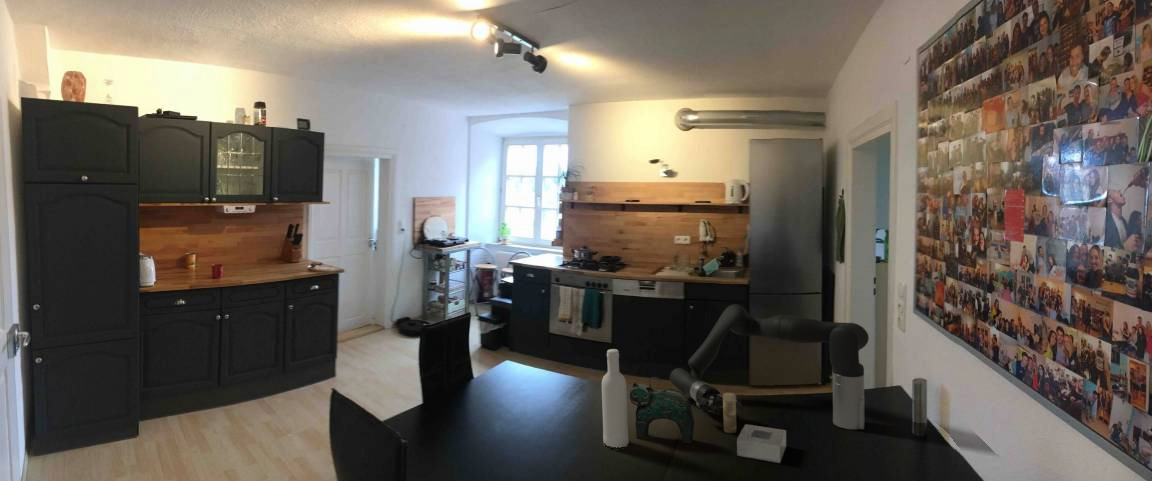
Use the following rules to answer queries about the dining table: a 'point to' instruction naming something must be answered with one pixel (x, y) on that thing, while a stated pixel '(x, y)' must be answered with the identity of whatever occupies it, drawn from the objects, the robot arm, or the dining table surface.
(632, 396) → the ceramic cat
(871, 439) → the dining table surface
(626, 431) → the bottle
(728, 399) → the wooden peg
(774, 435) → the socket block
